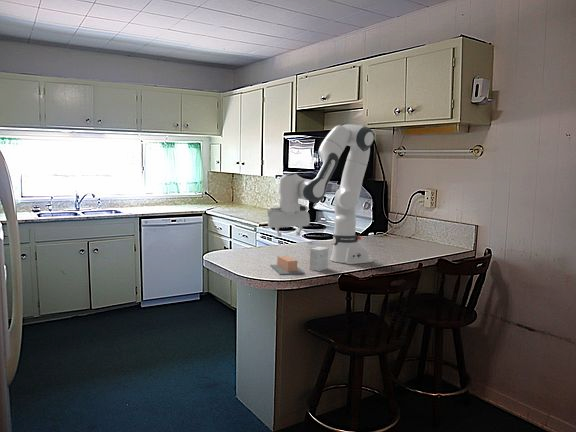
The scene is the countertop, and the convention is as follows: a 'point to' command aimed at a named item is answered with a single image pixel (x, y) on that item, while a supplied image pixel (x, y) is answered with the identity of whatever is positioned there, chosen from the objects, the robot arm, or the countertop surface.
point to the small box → (319, 258)
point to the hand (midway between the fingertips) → (288, 235)
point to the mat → (283, 272)
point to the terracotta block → (287, 263)
